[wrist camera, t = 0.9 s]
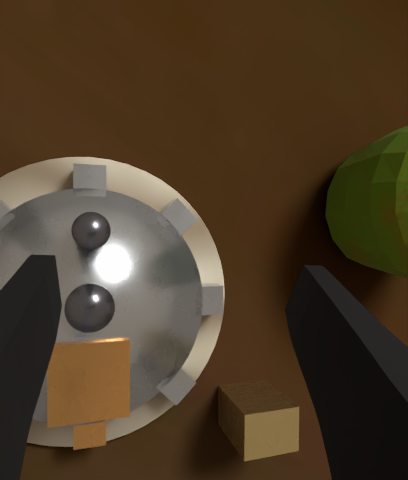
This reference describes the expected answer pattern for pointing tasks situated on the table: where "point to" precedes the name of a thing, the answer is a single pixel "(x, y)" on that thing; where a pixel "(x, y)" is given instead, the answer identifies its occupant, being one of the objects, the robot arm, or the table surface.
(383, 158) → the apple
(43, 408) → the sprocket
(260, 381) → the wooden block
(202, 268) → the base plate
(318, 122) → the table surface
